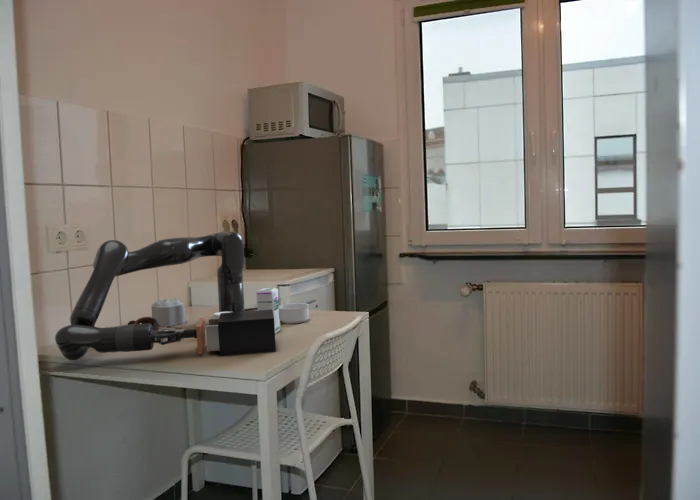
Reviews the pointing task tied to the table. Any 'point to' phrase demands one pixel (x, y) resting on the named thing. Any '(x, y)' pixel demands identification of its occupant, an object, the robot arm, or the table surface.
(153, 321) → the brown hollow curved piece
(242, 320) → the small drawer unit
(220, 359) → the table surface
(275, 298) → the syrup box
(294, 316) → the saucepan
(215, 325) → the orange pull-out drawer
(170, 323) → the lumpy-topped squat cylinder
